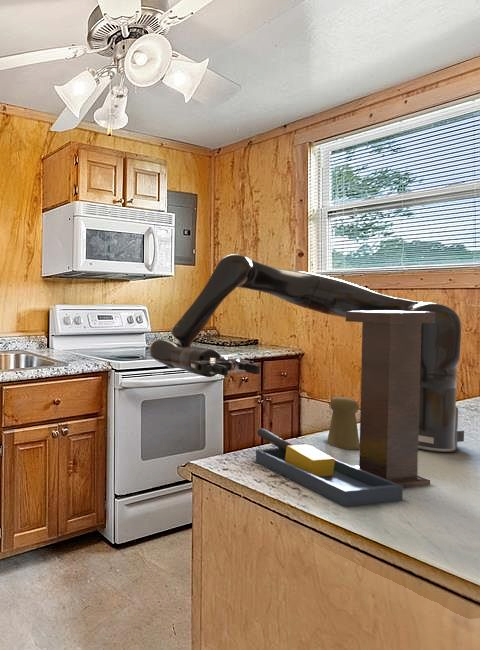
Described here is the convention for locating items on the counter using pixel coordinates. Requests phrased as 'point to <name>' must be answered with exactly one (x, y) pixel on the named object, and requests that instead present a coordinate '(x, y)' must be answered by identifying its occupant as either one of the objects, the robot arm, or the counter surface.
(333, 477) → the tray
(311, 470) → the sponge brush
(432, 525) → the counter surface
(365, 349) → the wooden pedestal stand
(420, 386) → the robot arm
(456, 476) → the counter surface
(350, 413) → the cork
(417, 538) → the counter surface
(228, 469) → the counter surface
